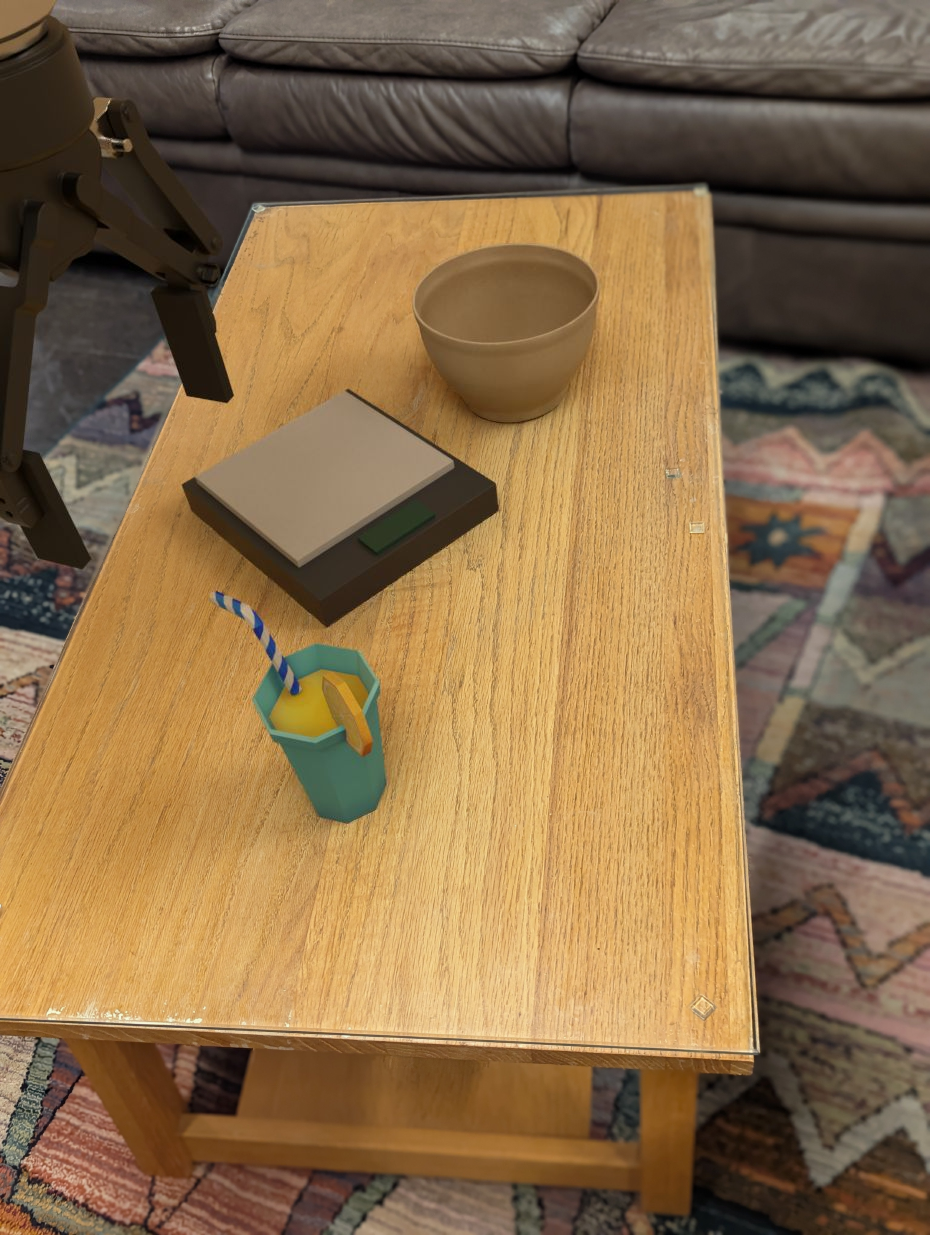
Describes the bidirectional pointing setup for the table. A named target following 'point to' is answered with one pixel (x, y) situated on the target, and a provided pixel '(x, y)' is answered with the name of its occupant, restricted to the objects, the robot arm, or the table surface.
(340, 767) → the cup
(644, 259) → the table surface
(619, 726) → the table surface
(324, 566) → the scale
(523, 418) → the planter bowl
